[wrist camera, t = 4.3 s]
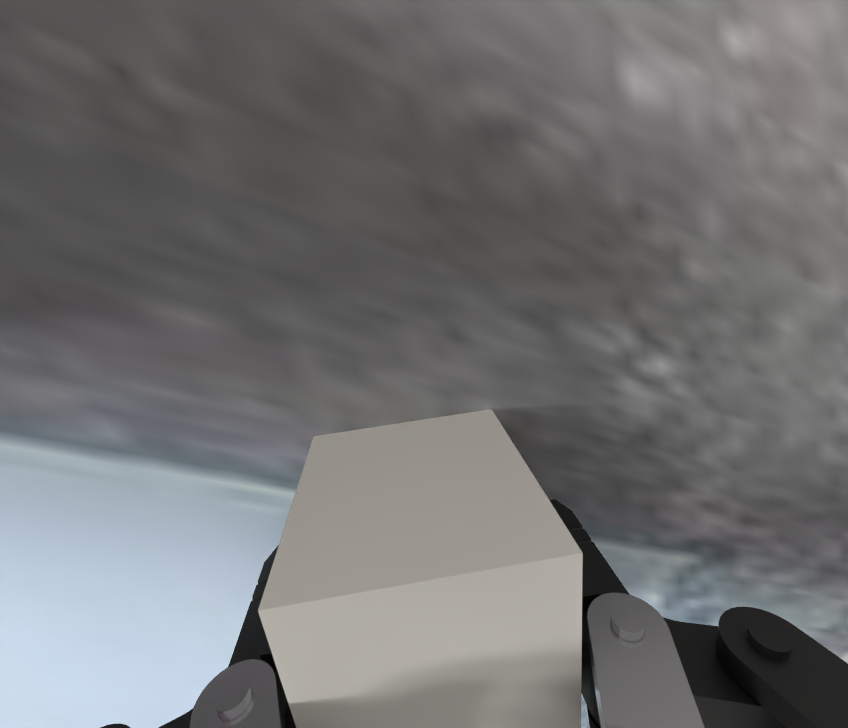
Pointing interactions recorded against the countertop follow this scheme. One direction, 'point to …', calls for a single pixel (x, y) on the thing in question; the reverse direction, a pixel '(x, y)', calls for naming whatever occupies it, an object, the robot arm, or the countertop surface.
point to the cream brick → (425, 584)
